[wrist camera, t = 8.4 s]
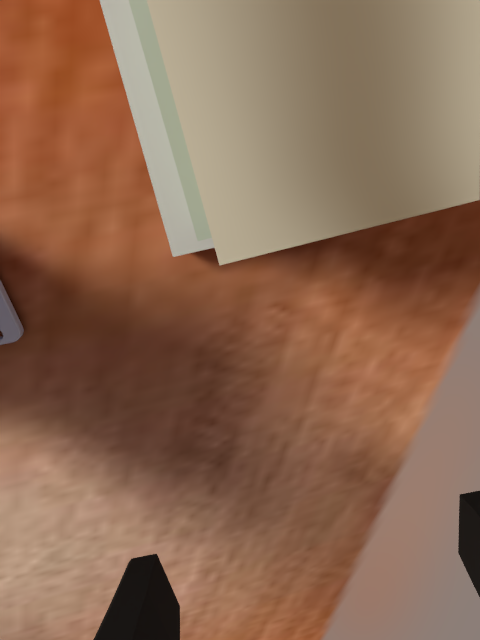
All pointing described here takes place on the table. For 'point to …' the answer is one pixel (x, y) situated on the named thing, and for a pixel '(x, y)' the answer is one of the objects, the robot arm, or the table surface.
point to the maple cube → (323, 113)
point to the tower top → (170, 116)
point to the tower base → (151, 129)
